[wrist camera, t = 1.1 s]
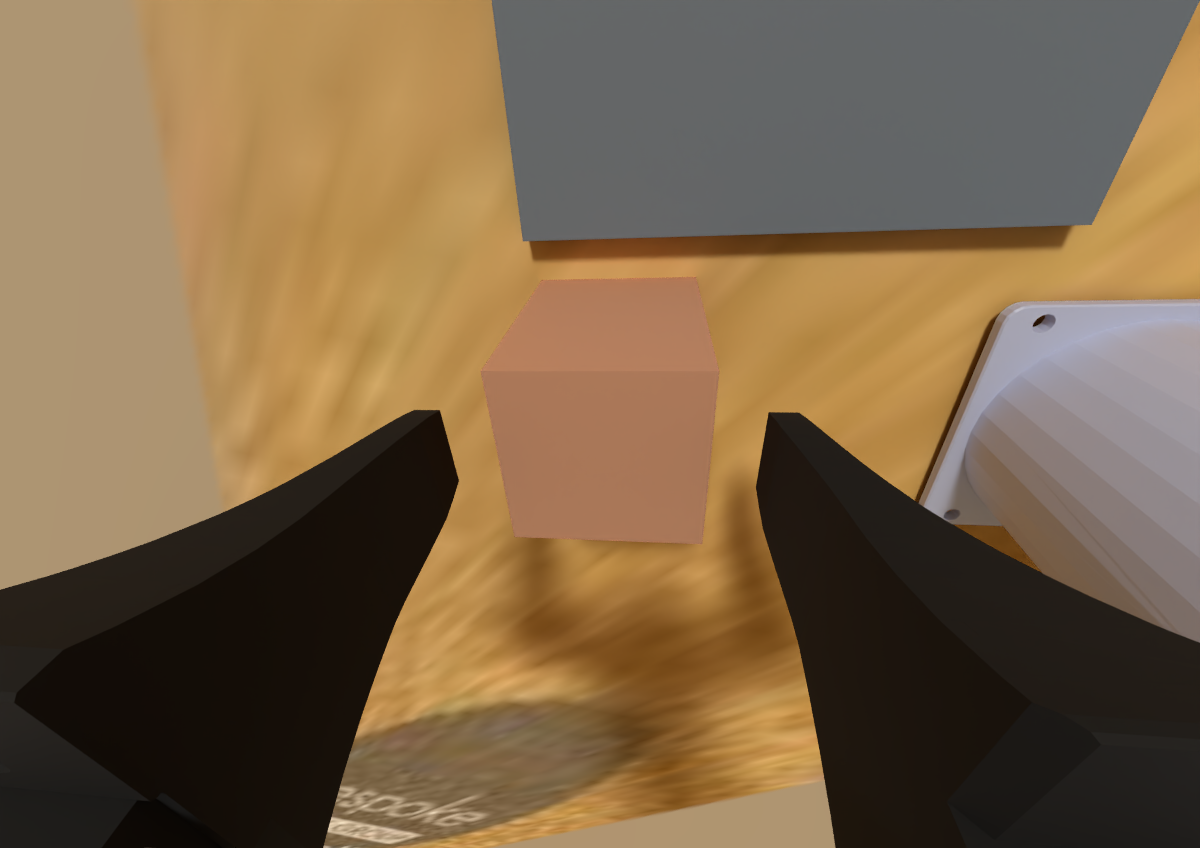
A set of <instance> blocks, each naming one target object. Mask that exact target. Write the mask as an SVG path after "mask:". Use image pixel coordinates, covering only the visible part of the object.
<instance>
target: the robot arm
mask: <svg viewBox="0 0 1200 848" xmlns="http://www.w3.org/2000/svg"><path fill="white" fill-rule="evenodd" d="M1042 315H1045V319H1044V320H1043V321H1042V323H1040V324H1039V325H1037V326H1035V327H1033V323H1034V322H1035V321H1036V319H1038V318H1039V317H1041V316H1042ZM458 482H459V479H458V476H457V472H456V468H455V465H454V461H453V457H452V453H451V450H450V446H449V442H448V439H447V435H446V431H445V428H444V424H443V420H442V417H441V413H440V410H413V411H411V412H409V413H407V414H405V415H403V416H401V417H399V418H397V419H395V420H394V421H392V422H390V423H388V424H387V425H385V426H383V427H382V428H380V429H378V430H376V431H375V432H373V433H371V434H370V435H368V436H366V437H365V438H363V439H361V440H360V441H358V442H356V443H355V444H353V445H351V446H350V447H348V448H346V449H345V450H343V451H341V452H340V453H338V454H336V455H334V456H333V457H331V458H329V459H327V460H326V461H324V462H322V463H320V464H318V465H317V466H315V467H313V468H311V469H309V470H308V471H306V472H304V473H302V474H300V475H299V476H297V477H295V478H293V479H291V480H289V481H288V482H286V483H284V484H282V485H280V486H278V487H276V488H274V489H272V490H270V491H268V492H266V493H264V494H262V495H260V496H258V497H256V498H254V499H252V500H249V501H247V502H245V503H243V504H241V505H239V506H236V507H234V508H232V509H230V510H228V511H226V512H223V513H221V514H219V515H216V516H214V517H211V518H209V519H206V520H204V521H201V522H199V523H197V524H194V525H192V526H189V527H187V528H184V529H182V530H179V531H177V532H174V533H172V534H169V535H167V536H164V537H162V538H159V539H157V540H154V541H151V542H149V543H146V544H143V545H140V546H138V547H135V548H132V549H129V550H126V551H123V552H121V553H118V554H115V555H112V556H109V557H106V558H103V559H100V560H97V561H94V562H91V563H88V564H85V565H82V566H79V567H76V568H73V569H70V570H67V571H63V572H60V573H57V574H54V575H50V576H47V577H44V578H40V579H37V580H33V581H30V582H26V583H22V584H19V585H15V586H12V587H8V588H5V589H1V590H0V848H323V846H324V842H325V838H326V834H327V831H328V827H329V824H330V820H331V817H332V813H333V809H334V806H335V802H336V799H337V795H338V791H339V788H340V784H341V781H342V777H343V773H344V770H345V767H346V764H347V761H348V758H349V754H350V751H351V748H352V745H353V742H354V738H355V735H356V732H357V729H358V726H359V722H360V719H361V716H362V713H363V710H364V707H365V704H366V702H367V699H368V696H369V693H370V690H371V687H372V684H373V681H374V679H375V676H376V673H377V670H378V667H379V664H380V662H381V659H382V656H383V654H384V651H385V649H386V646H387V643H388V641H389V638H390V635H391V633H392V630H393V627H394V625H395V622H396V620H397V618H398V616H399V614H400V611H401V609H402V607H403V605H404V603H405V601H406V599H407V597H408V595H409V593H410V591H411V589H412V587H413V585H414V583H415V581H416V579H417V577H418V575H419V573H420V571H421V569H422V567H423V565H424V563H425V561H426V559H427V557H428V555H429V553H430V551H431V549H432V547H433V545H434V543H435V541H436V539H437V537H438V535H439V533H440V531H441V529H442V527H443V525H444V523H445V521H446V518H447V516H448V513H449V510H450V507H451V504H452V501H453V498H454V495H455V492H456V488H457V485H458ZM756 491H757V497H758V503H759V509H760V515H761V520H762V526H763V530H764V533H765V537H766V540H767V543H768V546H769V550H770V553H771V556H772V559H773V562H774V566H775V569H776V572H777V575H778V578H779V581H780V584H781V587H782V591H783V594H784V597H785V600H786V603H787V606H788V609H789V613H790V616H791V619H792V622H793V626H794V629H795V633H796V637H797V640H798V644H799V648H800V653H801V658H802V663H803V668H804V673H805V677H806V682H807V687H808V692H809V697H810V702H811V707H812V713H813V718H814V723H815V728H816V734H817V739H818V744H819V750H820V755H821V761H822V767H823V773H824V779H825V785H826V790H827V797H828V802H829V808H830V814H831V820H832V827H833V834H834V840H835V847H836V848H1200V299H1171V300H1098V301H1025V302H1018V303H1014V304H1012V305H1010V306H1008V307H1006V308H1005V309H1004V310H1003V311H1002V312H1001V313H1000V314H999V316H998V317H997V319H996V321H995V323H994V325H993V328H992V330H991V332H990V335H989V337H988V340H987V342H986V344H985V347H984V349H983V351H982V354H981V356H980V358H979V361H978V363H977V366H976V368H975V370H974V373H973V375H972V377H971V380H970V382H969V385H968V387H967V389H966V392H965V394H964V396H963V399H962V401H961V404H960V406H959V408H958V411H957V413H956V415H955V418H954V420H953V422H952V425H951V427H950V430H949V432H948V434H947V437H946V439H945V441H944V444H943V446H942V449H941V451H940V453H939V456H938V458H937V460H936V463H935V465H934V467H933V470H932V472H931V475H930V477H929V479H928V482H927V484H926V486H925V489H924V491H923V494H922V496H921V498H920V501H919V503H917V502H916V501H914V500H913V499H911V498H910V497H909V496H907V495H906V494H904V493H903V492H901V491H900V490H899V489H897V488H896V487H894V486H893V485H891V484H890V483H888V482H887V481H886V480H884V479H883V478H882V477H880V476H879V475H878V474H876V473H875V472H873V471H872V470H871V469H870V468H868V467H867V466H866V465H864V464H863V463H862V462H860V461H859V460H858V459H857V458H855V457H854V456H853V455H851V454H850V453H849V452H848V451H846V450H845V449H844V448H843V447H841V446H840V445H839V444H838V443H837V442H835V441H834V440H833V439H832V438H830V437H829V436H828V435H827V434H826V433H824V432H823V431H822V430H821V429H819V428H818V427H817V426H816V425H814V424H813V423H812V422H811V421H809V420H808V419H807V418H806V417H804V416H803V415H801V414H800V413H775V412H769V414H768V420H767V425H766V431H765V437H764V443H763V449H762V455H761V461H760V467H759V472H758V478H757V484H756ZM949 510H951V511H949ZM947 511H949V512H947ZM953 524H957V525H988V526H1003V527H1004V528H1005V529H1006V530H1007V531H1008V533H1009V534H1010V535H1011V536H1012V537H1013V539H1014V540H1015V541H1016V542H1017V543H1018V545H1019V546H1020V547H1021V548H1022V549H1023V550H1024V552H1025V553H1026V554H1027V555H1028V556H1029V558H1030V559H1031V560H1032V561H1033V562H1034V564H1035V565H1036V566H1037V567H1038V568H1039V570H1040V571H1041V572H1042V573H1041V572H1039V571H1037V570H1035V569H1033V568H1031V567H1029V566H1027V565H1025V564H1023V563H1021V562H1019V561H1017V560H1015V559H1013V558H1011V557H1010V556H1008V555H1006V554H1004V553H1002V552H1000V551H998V550H996V549H994V548H993V547H991V546H989V545H987V544H985V543H983V542H982V541H980V540H978V539H976V538H974V537H973V536H971V535H969V534H968V533H966V532H964V531H963V530H961V529H959V528H958V527H956V526H954V525H953Z"/></svg>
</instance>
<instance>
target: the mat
mask: <svg viewBox="0 0 1200 848" xmlns="http://www.w3.org/2000/svg"><path fill="white" fill-rule="evenodd" d="M1199 1H1200V0H492V6H493V14H494V21H495V29H496V37H497V45H498V52H499V60H500V68H501V75H502V83H503V91H504V99H505V106H506V114H507V122H508V129H509V137H510V145H511V153H512V160H513V168H514V176H515V183H516V191H517V199H518V207H519V214H520V222H521V230H522V237H523V241H550V240H584V239H618V238H653V237H687V236H721V235H756V234H790V233H825V232H859V231H893V230H928V229H962V228H997V227H1031V226H1065V225H1092V223H1093V221H1094V219H1095V217H1096V215H1097V213H1098V211H1099V209H1100V206H1101V204H1102V202H1103V200H1104V198H1105V196H1106V194H1107V192H1108V190H1109V188H1110V186H1111V184H1112V182H1113V179H1114V177H1115V175H1116V173H1117V171H1118V169H1119V167H1120V165H1121V163H1122V161H1123V159H1124V157H1125V155H1126V152H1127V150H1128V148H1129V146H1130V144H1131V142H1132V140H1133V138H1134V136H1135V134H1136V132H1137V130H1138V128H1139V125H1140V123H1141V121H1142V119H1143V117H1144V115H1145V113H1146V111H1147V109H1148V107H1149V105H1150V103H1151V101H1152V98H1153V96H1154V94H1155V92H1156V90H1157V88H1158V86H1159V84H1160V82H1161V80H1162V78H1163V76H1164V74H1165V71H1166V69H1167V67H1168V65H1169V63H1170V61H1171V59H1172V57H1173V55H1174V53H1175V51H1176V49H1177V47H1178V45H1179V42H1180V40H1181V38H1182V36H1183V34H1184V32H1185V30H1186V28H1187V26H1188V24H1189V22H1190V20H1191V18H1192V15H1193V13H1194V11H1195V9H1196V7H1197V5H1198V3H1199Z"/></svg>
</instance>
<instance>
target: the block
mask: <svg viewBox="0 0 1200 848" xmlns="http://www.w3.org/2000/svg"><path fill="white" fill-rule="evenodd" d="M481 375H482V380H483V385H484V390H485V395H486V400H487V404H488V409H489V414H490V419H491V424H492V429H493V434H494V439H495V444H496V448H497V453H498V458H499V463H500V468H501V473H502V478H503V483H504V488H505V492H506V497H507V502H508V507H509V512H510V517H511V522H512V527H513V532H514V536H515V537H530V538H556V539H582V540H607V541H633V542H659V543H685V544H702V542H703V531H704V521H705V511H706V501H707V491H708V480H709V470H710V460H711V450H712V440H713V430H714V419H715V409H716V399H717V389H718V379H719V368H718V364H717V360H716V356H715V352H714V348H713V344H712V340H711V336H710V332H709V328H708V324H707V320H706V316H705V312H704V308H703V304H702V300H701V296H700V292H699V287H698V283H697V279H696V277H673V278H624V279H574V280H542V281H541V282H540V284H539V285H538V287H537V288H536V290H535V291H534V293H533V294H532V296H531V297H530V299H529V300H528V302H527V303H526V305H525V306H524V308H523V309H522V311H521V312H520V314H519V315H518V316H517V318H516V319H515V321H514V322H513V324H512V325H511V327H510V328H509V330H508V331H507V333H506V334H505V336H504V337H503V339H502V340H501V342H500V343H499V345H498V346H497V348H496V349H495V351H494V352H493V354H492V355H491V357H490V358H489V360H488V361H487V362H486V364H485V365H484V367H483V368H482V370H481Z"/></svg>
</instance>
